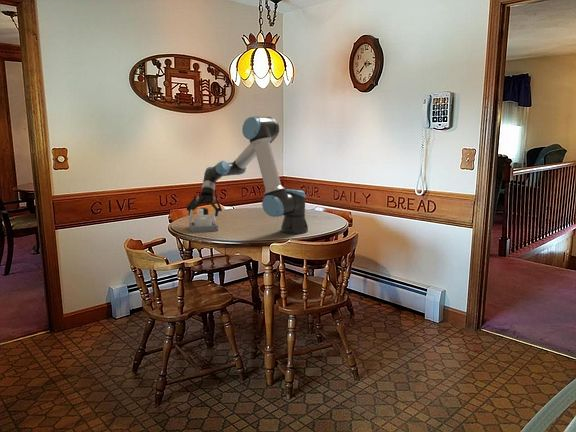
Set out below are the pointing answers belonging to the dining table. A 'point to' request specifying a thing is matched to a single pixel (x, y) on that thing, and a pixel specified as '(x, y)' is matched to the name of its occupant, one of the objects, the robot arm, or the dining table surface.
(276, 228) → the dining table surface
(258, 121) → the robot arm
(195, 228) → the pill tray
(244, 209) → the dining table surface
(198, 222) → the medicine bottle
